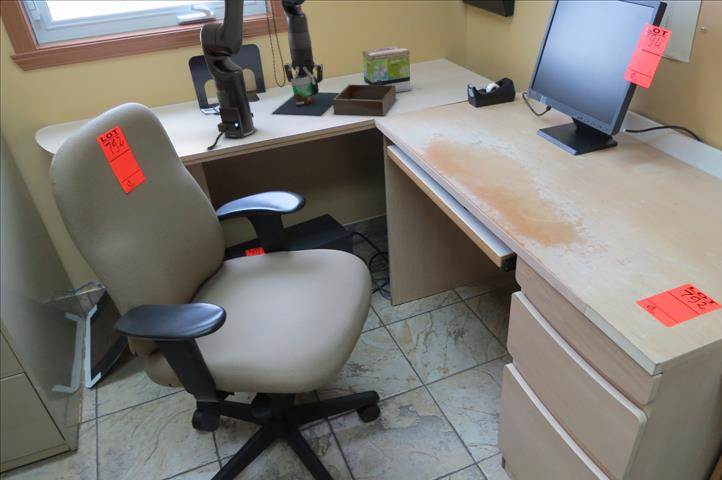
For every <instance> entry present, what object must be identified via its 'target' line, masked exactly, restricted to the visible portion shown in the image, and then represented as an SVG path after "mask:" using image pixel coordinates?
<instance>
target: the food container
mask: <svg viewBox="0 0 722 480" xmlns="http://www.w3.org/2000/svg"><path fill="white" fill-rule="evenodd" d="M311 75H312V74H311ZM290 85H291V87H292V92H293V96H294V97H295V102H296V106H306V105H310V104H312V103H314V93H313V86H312V85H313V83H312V80H311V79H310V78H309V76H304V75H303V76H298V77H297V78H295V79H291V82H290Z"/></svg>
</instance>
